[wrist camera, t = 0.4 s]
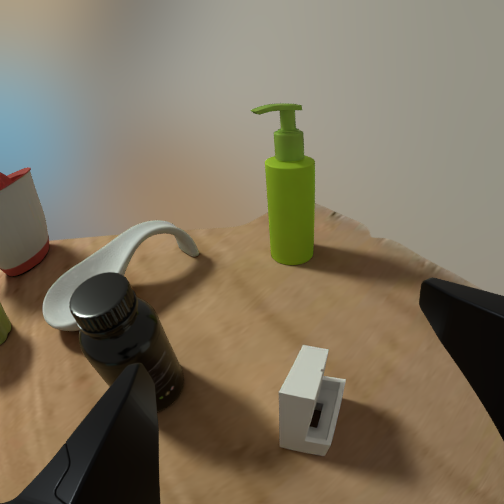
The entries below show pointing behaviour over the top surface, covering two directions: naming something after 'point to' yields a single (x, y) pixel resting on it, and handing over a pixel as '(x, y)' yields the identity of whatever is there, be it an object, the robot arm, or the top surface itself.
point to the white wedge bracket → (309, 403)
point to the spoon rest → (105, 268)
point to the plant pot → (4, 325)
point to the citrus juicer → (21, 224)
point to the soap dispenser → (290, 190)
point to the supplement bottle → (124, 334)
